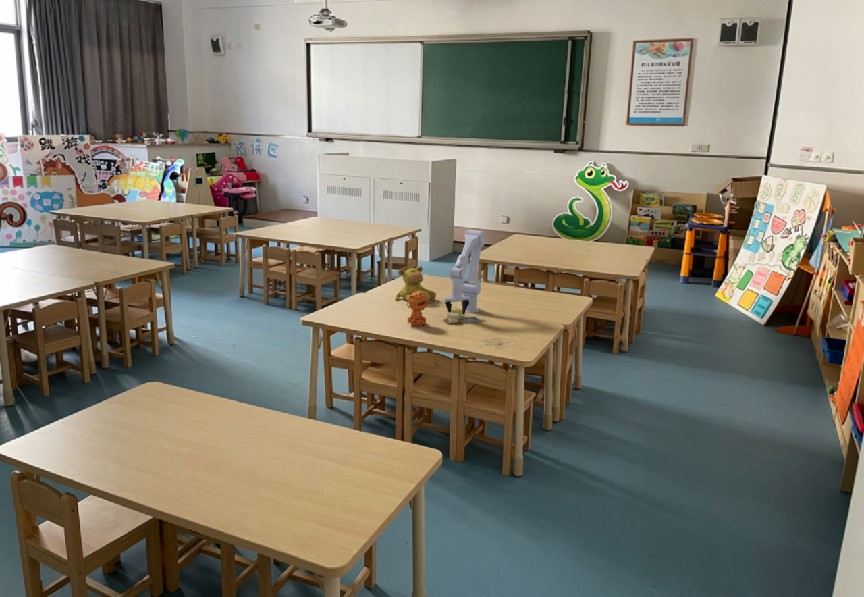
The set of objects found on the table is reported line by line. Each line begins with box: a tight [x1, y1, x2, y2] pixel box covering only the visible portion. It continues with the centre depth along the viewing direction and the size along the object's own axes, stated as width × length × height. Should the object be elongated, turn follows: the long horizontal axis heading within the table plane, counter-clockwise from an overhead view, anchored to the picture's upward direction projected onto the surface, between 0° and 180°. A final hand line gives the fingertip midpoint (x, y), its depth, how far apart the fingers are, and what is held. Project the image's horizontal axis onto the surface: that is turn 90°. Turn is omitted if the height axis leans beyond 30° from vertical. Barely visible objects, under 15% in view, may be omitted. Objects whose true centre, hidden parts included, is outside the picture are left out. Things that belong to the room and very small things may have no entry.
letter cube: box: [451, 307, 463, 318], centre depth 352 cm, size 4×4×5 cm
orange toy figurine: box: [406, 290, 430, 327], centre depth 337 cm, size 11×11×18 cm
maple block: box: [446, 312, 459, 323], centre depth 344 cm, size 4×4×4 cm
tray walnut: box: [442, 318, 463, 326], centre depth 344 cm, size 8×8×1 cm
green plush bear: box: [394, 265, 437, 303], centre depth 384 cm, size 20×24×19 cm
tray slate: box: [461, 316, 482, 324], centre depth 348 cm, size 8×8×1 cm
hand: (456, 314), depth 353 cm, fingers open, 7 cm apart
